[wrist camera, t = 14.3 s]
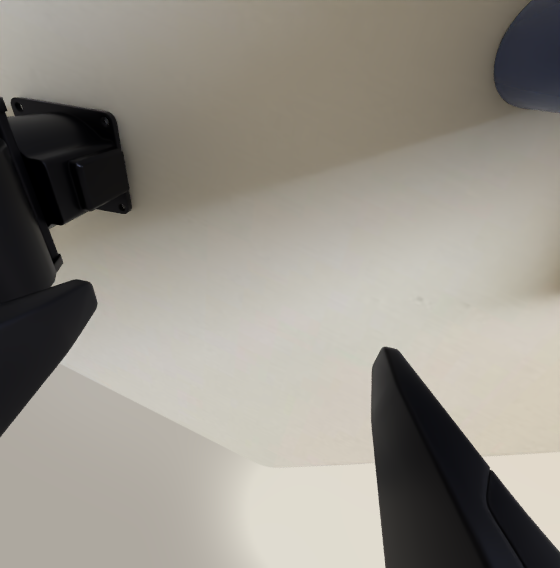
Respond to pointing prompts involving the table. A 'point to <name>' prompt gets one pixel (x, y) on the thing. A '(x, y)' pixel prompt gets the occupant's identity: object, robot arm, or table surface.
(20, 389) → the robot arm
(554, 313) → the table surface
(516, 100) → the blue canister
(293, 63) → the table surface
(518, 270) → the table surface
